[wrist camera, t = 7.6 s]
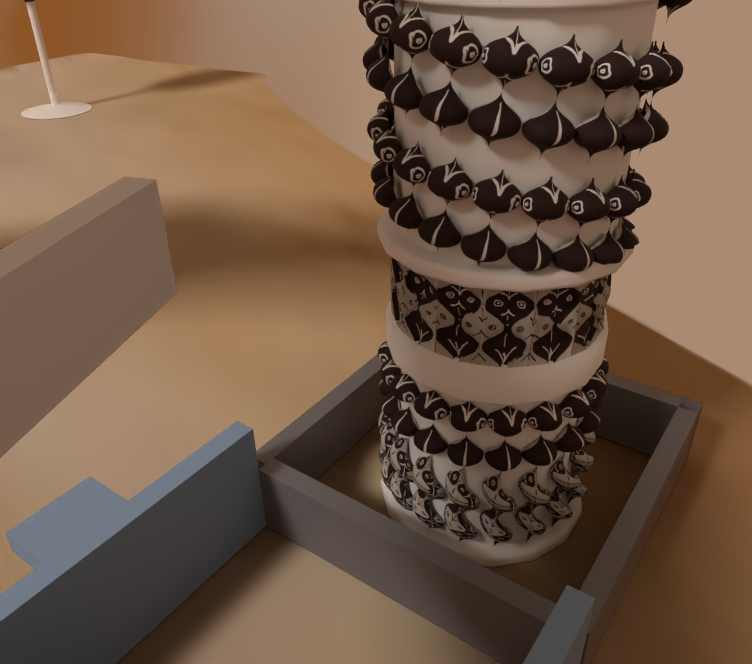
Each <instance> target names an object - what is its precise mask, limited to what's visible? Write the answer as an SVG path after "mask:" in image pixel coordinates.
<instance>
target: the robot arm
mask: <svg viewBox="0 0 752 664" xmlns="http://www.w3.org/2000/svg"><path fill="white" fill-rule="evenodd" d="M175 294H177V288H176V283H175V278H174V272H173V267H172V262H171V256H170V251H169V246H168V240H167V235H166V230H165V224H164V219H163V214H162V208H161V203H160V198H159V192H158V187H157V182H156V179H145V178H133V177H123V178H122V179H120V180H118V181H117V182H115V183H113V184H111V185H110V186H108V187H106V188H105V189H103V190H101V191H99V192H98V193H96V194H94V195H93V196H91V197H89V198H87V199H86V200H84V201H82V202H81V203H79V204H77V205H75V206H74V207H72V208H70V209H69V210H67V211H65V212H64V213H62V214H60V215H58V216H57V217H55V218H53V219H52V220H50V221H48V222H46V223H45V224H43V225H41V226H40V227H38V228H36V229H34V230H33V231H31V232H29V233H28V234H26V235H24V236H22V237H21V238H19V239H17V240H16V241H14V242H12V243H10V244H9V245H7V246H5V247H4V248H2V249H0V458H1V457H2V456H3V455H4V454H5V453H6V452H7V451H8V450H9V449H11V448H12V447H13V446H14V445H15V444H16V443H17V442H18V441H19V440H20V439H21V438H22V437H23V436H24V435H26V434H27V433H28V432H29V431H30V430H31V429H32V428H33V427H34V426H35V425H36V424H37V423H38V422H39V421H41V420H42V419H43V418H44V417H45V416H46V415H47V414H48V413H49V412H50V411H51V410H52V409H53V408H54V407H56V406H57V405H58V404H59V403H60V402H61V401H62V400H63V399H64V398H65V397H66V396H67V395H68V394H69V393H71V392H72V391H73V390H74V389H75V388H76V387H77V386H78V385H79V384H80V383H81V382H82V381H83V380H84V379H86V378H87V377H88V376H89V375H90V374H91V373H92V372H93V371H94V370H95V369H96V368H97V367H98V366H99V365H101V364H102V363H103V362H104V361H105V360H106V359H107V358H108V357H109V356H110V355H111V354H112V353H113V352H114V351H116V350H117V349H118V348H119V347H120V346H121V345H122V344H123V343H124V342H125V341H126V340H127V339H128V338H129V337H130V336H132V335H133V334H134V333H135V332H136V331H137V330H138V329H139V328H140V327H141V326H142V325H143V324H144V323H145V322H147V321H148V320H149V319H150V318H151V317H152V316H153V315H154V314H155V313H156V312H157V311H158V310H159V309H160V308H162V307H163V306H164V305H165V304H166V303H167V302H168V301H169V300H170V299H171V298H172V297H173V296H174V295H175Z"/></svg>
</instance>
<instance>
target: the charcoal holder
mask: <svg viewBox="0 0 752 664" xmlns="http://www.w3.org/2000/svg"><path fill="white" fill-rule="evenodd" d="M382 364H383V363H382V362H381V361H380V360H379V358H378V355H376V356H375V357H374V358H373V359H371V360H370V361H369V362H368V363H366V364H365V365H364V366H363V367H361V368H360V369H359V370H358V371H356V372H355V373H354V374H353V375H351V376H350V377H349V378H348V379H346V380H345V381H344V382H343V383H341V384H340V385H339V386H337V387H336V388H335V389H334V390H332V391H331V392H330V393H329V394H327V395H326V396H325V397H324V398H322V399H321V400H320V401H319V402H317V403H316V404H315V405H314V406H312V407H311V408H310V409H309V410H307V411H306V412H305V413H304V414H302V415H301V416H300V417H299V418H297V419H296V420H295V421H294V422H292V423H291V424H290V425H289V426H287V427H286V428H285V429H284V430H282V431H281V432H280V433H279V434H277V435H276V436H275V437H274V438H272V439H271V440H270V441H269V442H267V443H266V444H265V445H264V446H262V447H261V448H260V449H259V450H257V451H256V455H257V462H258V469H259V476H260V484H261V491H262V498H263V505H264V513H265V520H266V526H268V527H270V528H271V529H273V530H275V531H277V532H278V533H280V534H282V535H283V536H285V537H287V538H289V539H290V540H292V541H294V542H295V543H297V544H299V545H301V546H302V547H304V548H306V549H307V550H309V551H311V552H313V553H314V554H316V555H318V556H319V557H321V558H323V559H325V560H326V561H328V562H330V563H331V564H333V565H335V566H337V567H338V568H340V569H342V570H343V571H345V572H347V573H349V574H350V575H352V576H354V577H355V578H357V579H359V580H361V581H362V582H364V583H366V584H367V585H369V586H371V587H373V588H374V589H376V590H378V591H379V592H381V593H383V594H385V595H386V596H388V597H390V598H391V599H393V600H395V601H397V602H398V603H400V604H402V605H403V606H405V607H407V608H409V609H410V610H412V611H414V612H415V613H417V614H419V615H421V616H422V617H424V618H426V619H428V620H429V621H431V622H433V623H434V624H436V625H438V626H440V627H441V628H443V629H445V630H446V631H448V632H450V633H452V634H453V635H455V636H457V637H458V638H460V639H462V640H464V641H465V642H467V643H469V644H470V645H472V646H474V647H476V648H477V649H479V650H481V651H482V652H484V653H486V654H488V655H489V656H491V657H493V658H494V659H496V660H498V661H500V662H501V663H503V664H523V663H524V661H525V659H526V657H527V656H528V654H529V652H530V650H531V648H532V647H533V645H534V643H535V641H536V640H537V638H538V636H539V634H540V632H541V631H542V629H543V627H544V625H545V623H546V622H547V620H548V618H549V616H550V615H551V613H552V611H553V609H554V607H555V606H556V603H554V602H552V601H550V600H548V599H546V598H544V597H542V596H540V595H538V594H536V593H535V592H533V591H531V590H529V589H527V588H525V587H523V586H521V585H519V584H517V583H515V582H513V581H511V580H509V579H507V578H505V577H503V576H501V575H500V574H498V573H496V572H494V571H492V570H490V569H488V568H486V567H484V566H482V565H480V564H478V563H476V562H474V561H472V560H470V559H468V558H466V557H465V556H463V555H461V554H459V553H457V552H455V551H453V550H451V549H449V548H447V547H445V546H443V545H441V544H439V543H437V542H435V541H433V540H431V539H430V538H428V537H426V536H424V535H422V534H420V533H418V532H416V531H414V530H412V529H410V528H408V527H406V526H404V525H402V524H400V523H398V522H396V521H395V520H393V519H391V518H389V517H387V516H385V515H383V514H381V513H379V512H377V511H375V510H373V509H371V508H369V507H367V506H365V505H363V504H361V503H360V502H358V501H356V500H354V499H352V498H350V497H348V496H346V495H344V494H342V493H340V492H338V491H336V490H334V489H332V488H330V487H328V486H326V485H325V484H323V483H321V482H319V481H317V480H316V479H318V478H319V477H320V476H321V475H322V474H323V473H324V472H325V471H326V470H327V469H328V468H330V467H331V466H332V465H333V464H334V463H335V462H336V461H337V460H338V459H339V458H340V457H341V456H343V455H344V454H345V453H346V452H347V451H348V450H349V449H350V448H351V447H352V446H353V445H355V444H356V443H357V442H358V441H359V440H360V439H361V438H362V437H363V436H364V435H365V434H367V433H368V432H369V431H370V430H371V429H372V428H373V427H374V426H375V425H376V424H377V423H378V422H379V417H380V415H381V413H382V408H381V403H382V400H383V398H384V397H385V396H383V395H382V394H381V393H380V391H379V383H380V381H381V379H382V377H381V373H380V370H381V366H382ZM604 377H605V379H606V380H607V383H608V386H607V390H606V392H605V394H604V395H603V396H602V397H601V399H602V401H601V406H600V408H599V409H598V410H597V411H596V412H597V413H598V414H599V415H600V424H599V426H598V428H597V429H596V430H595V431H593V433H594V434H595V435H597V436H600V437H602V438H605V439H608V440H610V441H613V442H616V443H618V444H621V445H624V446H626V447H629V448H632V449H634V450H637V451H640V452H642V453H645V454H648V455H650V456H652V457H651V458H650V460H649V462H648V464H647V466H646V468H645V470H644V471H643V473H642V475H641V477H640V479H639V481H638V483H637V484H636V486H635V488H634V490H633V492H632V494H631V496H630V497H629V499H628V501H627V503H626V505H625V507H624V509H623V510H622V512H621V514H620V516H619V518H618V520H617V522H616V523H615V525H614V527H613V529H612V531H611V533H610V535H609V536H608V538H607V540H606V542H605V544H604V546H603V548H602V549H601V551H600V553H599V555H598V557H597V559H596V561H595V563H594V564H593V566H592V568H591V570H590V572H589V574H588V576H587V577H586V579H585V581H584V583H583V585H582V587H581V589H580V590H579V591H581V592H583V593H585V594H587V595H589V596H591V597H593V598H595V602H594V606H593V610H592V615H591V619H590V623H589V628H588V632H587V636H586V640H585V645H584V649H583V653H582V658H581V662H580V664H590V662H591V660H592V658H593V655H594V653H595V651H596V649H597V647H598V645H599V643H600V641H601V639H602V636H603V634H604V632H605V630H606V628H607V626H608V624H609V622H610V620H611V617H612V615H613V613H614V611H615V609H616V607H617V605H618V603H619V601H620V598H621V596H622V594H623V592H624V590H625V588H626V586H627V584H628V582H629V579H630V577H631V575H632V573H633V571H634V569H635V567H636V565H637V563H638V560H639V558H640V556H641V554H642V552H643V550H644V548H645V546H646V544H647V541H648V539H649V537H650V535H651V533H652V531H653V529H654V527H655V525H656V522H657V520H658V518H659V516H660V514H661V512H662V510H663V508H664V506H665V503H666V501H667V499H668V497H669V495H670V493H671V491H672V489H673V487H674V484H675V482H676V480H677V478H678V476H679V474H680V472H681V470H682V468H683V465H684V463H685V461H686V459H687V457H688V453H689V450H690V447H691V443H692V440H693V436H694V433H695V429H696V426H697V423H698V419H699V416H700V412H701V409H702V405H703V404H702V403H699V402H696V401H693V400H690V399H687V398H684V397H681V396H678V395H675V394H672V393H669V392H666V391H663V390H660V389H657V388H653V387H650V386H647V385H644V384H641V383H638V382H635V381H632V380H629V379H626V378H623V377H620V376H617V375H614V374H611V373H608V372H607V374H606V375H605V376H604Z"/></svg>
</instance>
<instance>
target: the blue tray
mask: <svg viewBox="0 0 752 664" xmlns="http://www.w3.org/2000/svg"><path fill="white" fill-rule="evenodd" d="M265 526H266V520H265V513H264V505H263V498H262V491H261V484H260V476H259V469H258V462H257V455H256V448H255V440H254V433H253V429H252V428H250V427H248V426H246V425H244V424H242V423H240V422H238V421H236V422H235V423H234V424H232V425H231V426H230V427H228V428H227V429H226V430H224V431H223V432H221V433H220V434H219V435H217V436H216V437H215V438H213V439H212V440H211V441H209V442H208V443H206V444H205V445H204V446H202V447H201V448H200V449H198V450H197V451H196V452H194V453H193V454H192V455H190V456H189V457H187V458H186V459H185V460H183V461H182V462H181V463H179V464H178V465H177V466H175V467H174V468H172V469H171V470H170V471H168V472H167V473H166V474H164V475H163V476H162V477H160V478H159V479H157V480H156V481H155V482H153V483H152V484H151V485H149V486H148V487H147V488H145V489H144V490H143V491H141V492H140V493H138V494H137V495H136V496H134V497H133V498H132V499H130V500H129V501H127V500H126V499H124V498H123V497H121V496H119V495H118V494H116V493H115V492H113V491H112V490H110V489H109V488H107V487H106V486H104V485H102V484H101V483H99V482H98V481H96V480H95V479H93V478H92V477H88V478H87V479H85V480H84V481H82V482H81V483H79V484H78V485H77V486H75V487H74V488H72V489H71V490H69V491H68V492H66V493H65V494H63V495H62V496H60V497H59V498H57V499H56V500H54V501H53V502H51V503H50V504H48V505H47V506H45V507H44V508H42V509H41V510H39V511H38V512H36V513H35V514H33V515H32V516H31V517H29V518H28V519H26V520H25V521H23V522H22V523H20V524H19V525H17V526H16V527H14V528H13V529H11V530H10V531H8V532H7V533H5V534H6V536H7V538H8V541H9V543H10V545H11V548H12V550H13V552H14V553H16V554H17V555H18V556H19V557H21V558H22V559H23V560H24V561H26V562H27V563H28V564H29V565H31V566H32V567H33V568H34V569H35V570H34V571H32V572H31V573H30V574H28V575H27V576H25V577H24V578H23V579H21V580H20V581H19V582H17V583H16V584H15V585H13V586H12V587H11V588H9V589H8V590H6V591H5V592H4V593H2V594H1V595H0V664H116V663H117V662H118V661H119V660H120V659H121V658H123V657H124V656H125V655H126V654H127V653H128V652H129V651H130V650H131V649H132V648H133V647H135V646H136V645H137V644H138V643H139V642H140V641H141V640H142V639H143V638H144V637H145V636H146V635H148V634H149V633H150V632H151V631H152V630H153V629H154V628H155V627H156V626H157V625H158V624H160V623H161V622H162V621H163V620H164V619H165V618H166V617H167V616H168V615H169V614H170V613H172V612H173V611H174V610H175V609H176V608H177V607H178V606H179V605H180V604H181V603H182V602H184V601H185V600H186V599H187V598H188V597H189V596H190V595H191V594H192V593H193V592H194V591H196V590H197V589H198V588H199V587H200V586H201V585H202V584H203V583H204V582H205V581H206V580H208V579H209V578H210V577H211V576H212V575H213V574H214V573H215V572H216V571H217V570H218V569H219V568H221V567H222V566H223V565H224V564H225V563H226V562H227V561H228V560H229V559H230V558H231V557H233V556H234V555H235V554H236V553H237V552H238V551H239V550H240V549H241V548H242V547H243V546H245V545H246V544H247V543H248V542H249V541H250V540H251V539H252V538H253V537H254V536H255V535H257V534H258V533H259V532H260V531H261V530H262V529H263V528H264V527H265ZM594 602H595V598H593V597H591V596H589V595H587V594H585V593H583V592H581V591H579V590H577V589H575V588H573V587H571V586H569V585H567V586H566V588H565V590H564V591H563V593H562V595H561V597H560V598H559V600H558V602H557V604H556V606H555V607H554V609H553V611H552V613H551V615H550V616H549V618H548V620H547V622H546V623H545V625H544V627H543V629H542V631H541V632H540V634H539V636H538V638H537V640H536V641H535V643H534V645H533V647H532V648H531V650H530V652H529V654H528V656H527V657H526V659H525V661H524V663H523V664H580V662H581V658H582V653H583V649H584V645H585V640H586V636H587V632H588V628H589V623H590V619H591V615H592V610H593V606H594Z"/></svg>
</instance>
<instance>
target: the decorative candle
mask: <svg viewBox="0 0 752 664" xmlns="http://www.w3.org/2000/svg"><path fill="white" fill-rule="evenodd" d="M691 1H692V0H359V10H360V12H361V14H362V15H363V16H364V17H365V18H366V23H367V25H368V27H369V28H370V30H371V31H372V32H374V33H375V34H377V35H379V36H378V37H377V38H376V40H375V43H374V45H373V46H371V47H370V48H369V49H368V50H367V51H366V52H365V53H364V56H363V64H364V67H365V68H366V69H367V72H366V78H367V81H368V83H369V84H370V85H371V86H372V87H373V88H375V89H377V90H379V91H382V92H384V93H385V96H386V99H384V100H383V101H381V103H380V104H379V106H378V111H377V112H378V115H376V116H374V117H373V118H372V119H371V120H370V122H369V124H368V127H367V131H368V134H369V136H370V138H371V139H373V140H374V146H373V148H374V152H375V155H376V156H377V157H378V158H379V159H380V161H378V162H377V163H376V164H375V165H374V166H373V168H372V170H371V179H372V180H373V182H374V183H375V184H376V185H375V186H374V190H373V195H374V198H375V200H376V201H377V202H378V203H379V204H380V205H382V206H384V207H386V209H385V211H384V213H383V214H382V216H381V218H380V220H379V222H378V224H377V234H378V236H379V239H380V241H381V243H382V245H383V248H384V250H385V252H386V254H387V255H389V256H390V257H391V298H390V300H389V303H388V305H387V307H386V340H387V341H386V342H384V343H383V344H382V345H381V346H380V348H379V350H378V358H379V360H380V361H381V362H382V363H383V364H382V366H381V370H380V373H381V377H382V379H381V381H380V383H379V391H380V393H381V394H382V395H383V396H385V397H384V398H383V400H382V403H381V408H382V413H381V415H380V417H379V422H378V428H379V432H380V434H381V446H380V449H379V458H380V462H381V463H382V468H381V473H382V479H381V489H382V492H383V496H384V500H385V504H386V508H387V512H388V515H389V516H390V517H391V518H392V519H393V520H395V521H396V522H398V523H400V524H402V525H404V526H406V527H408V528H410V529H412V530H414V531H416V532H418V533H420V534H422V535H424V536H426V537H428V538H430V539H431V540H433V541H435V542H437V543H439V544H441V545H443V546H445V547H447V548H449V549H451V550H453V551H455V552H457V553H459V554H461V555H463V556H465V557H466V558H468V559H470V560H472V561H474V562H476V563H478V564H480V565H482V566H486V567H498V566H504V565H511V564H517V563H523V562H530V561H534V560H536V559H538V558H539V557H541V556H543V555H544V554H546V553H548V552H549V551H551V550H553V549H554V548H556V547H558V546H559V545H561V544H563V543H564V542H565V541H566V540H567V538H568V536H569V535H570V533H571V531H572V530H573V528H574V526H575V525H576V523H577V521H578V520H579V518H580V516H581V512H582V504H581V497H584V496H585V495H586V494H587V487H586V486H585V485H583V484H581V482H580V479H579V478H578V476H577V474H580V473H581V474H585V473H587V472H588V471H589V467H591V466H592V464H593V462H594V458H593V456H592V455H590V454H588V453H586V452H585V451H584V450H583V449H582V447H583V446H584V445H591V444H593V443H594V442H595V439H596V436H595V434H594V433H593V431H595V430H596V429H597V428H598V426H599V424H600V415H599V414H598V413H597V412H596V411H597V410H598V409H599V408H600V406H601V401H602V399H601V397H602V396H603V395H604V394H605V392H606V390H607V386H608V383H607V380H606V379H605V377H604V376H605V375H606V374H607V372H608V368H609V365H608V361H607V359H606V358H605V357H604V352H605V346H606V341H607V336H608V322H607V313H606V308H605V305H606V303H607V301H608V298H609V296H610V290H611V289H610V286H611V274H612V273H615V272H616V271H617V270H618V269H619V267H620V266H621V265H622V264H623V263H624V262H625V261H626V260H627V258H628V257H629V256H630V255H631V254H632V253H633V249H634V245H637V244H638V243H639V239H638V237H637V236H636V235H635V234H634V233H633V232H632V230H631V229H634V228H635V226H634V225H633V224H632V223H631V222H629V220H628V219H627V218H626V217H625V216H628V215H630V214H632V213H633V212H634V211H635V210H636V208H639V207H641V206H643V205H645V204H646V203H647V202H648V201H649V200H650V198H651V189H650V187H649V186H648V185H647V184H646V183H645V180H644V178H643V177H642V176H641V175H640V174H639V173H637V172H635V170H634V169H633V170H632V169H631V167H630V165H629V162H630V156H631V151H632V150H635V149H638V148H640V151H641V149H642V148H643V147H645V146H647V145H649V144H651V143H654V142H657V141H660V140H661V139H663V138H664V137H665V136H666V135H667V134H668V131H669V125H668V123H667V121H666V120H665V119H664V118H663V117H662V116H661V115H660V114H659V113H658V112H657V111H656V110H654V109H653V108H652V105H651V104H650V106H649V104H648V103H647V100H646V101H645V104H644V107H643V109H641V108H639V106H640V101H641V96H643V95H644V94H645V93H647V92H649V91H652V90H653V95H652V97H653V96H654V94H655V93H656V92H658V91H659V90H661V89H663V88H665V87H668V86H670V85H672V84H674V83H676V82H677V81H678V80H679V79H680V78H681V76H682V73H683V66H682V64H681V62H680V61H679V60H678V59H677V58H676V57H674V56H673V55H671V54H670V53H669V52H668V51H667V50H666V49H665V46H664V42H663V45H662V49H661V51H660V50H659V49H658V47H657V45H656V41H655V45H654V47H653V42H652V43H651V39H652V34H653V29H654V23H655V18H656V12H657V9H659V8H661V7H663V6H665V5H666V6H667V10H668V17H669V15H670V14H671V13H672V12H674V11H675V10H677V9H679V8H681V7H683V6H685V5H687V4H688V3H690V2H691ZM668 17H667V18H668ZM389 59H391V60H393V61H394V77H393V74H392V70H391V66H390V61H389ZM392 126H393V128H392Z"/></svg>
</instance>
